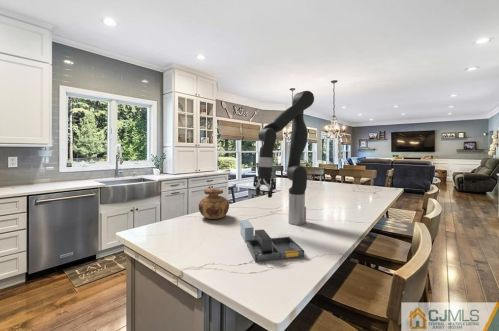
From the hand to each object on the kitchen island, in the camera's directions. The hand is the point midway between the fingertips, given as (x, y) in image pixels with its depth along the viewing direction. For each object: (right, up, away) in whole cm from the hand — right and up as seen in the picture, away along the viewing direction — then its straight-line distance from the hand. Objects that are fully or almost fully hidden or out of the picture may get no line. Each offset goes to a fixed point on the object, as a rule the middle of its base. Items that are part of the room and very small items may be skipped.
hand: (263, 196), depth 130 cm
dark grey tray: (+3, -20, -28) cm, 34 cm away
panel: (-9, -19, -12) cm, 24 cm away
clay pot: (-30, -16, +24) cm, 41 cm away
